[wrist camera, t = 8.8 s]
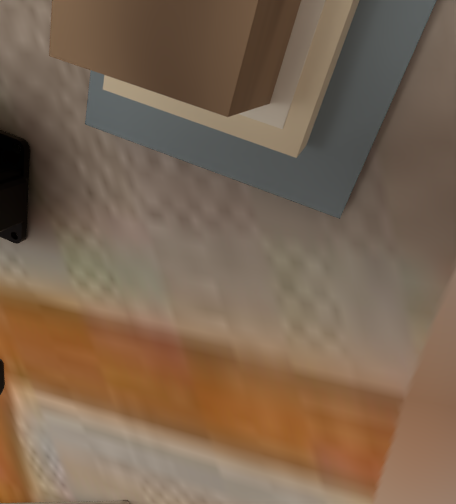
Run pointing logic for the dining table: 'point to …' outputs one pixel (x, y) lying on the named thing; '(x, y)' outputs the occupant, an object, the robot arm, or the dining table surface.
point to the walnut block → (180, 46)
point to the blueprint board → (287, 105)
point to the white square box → (95, 503)
